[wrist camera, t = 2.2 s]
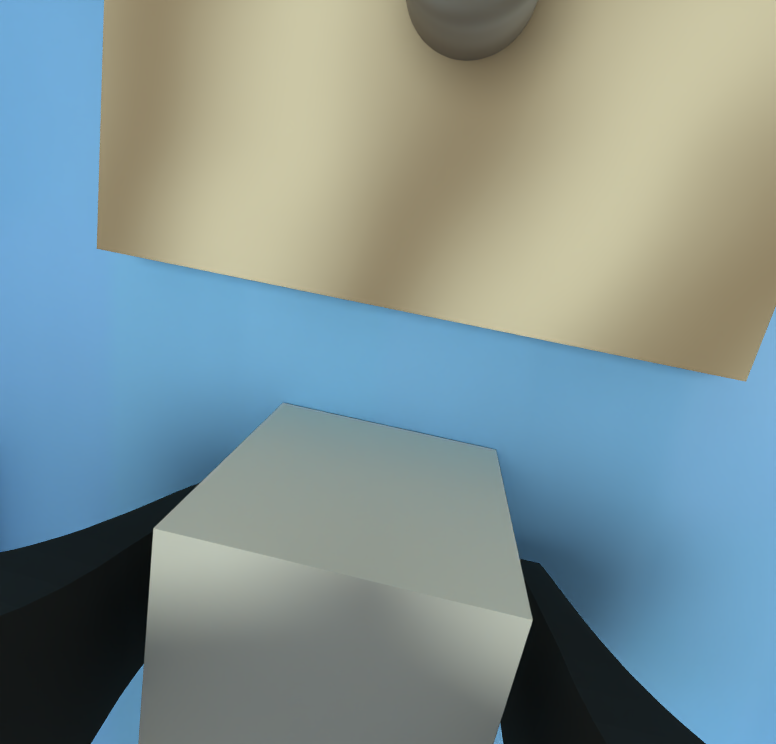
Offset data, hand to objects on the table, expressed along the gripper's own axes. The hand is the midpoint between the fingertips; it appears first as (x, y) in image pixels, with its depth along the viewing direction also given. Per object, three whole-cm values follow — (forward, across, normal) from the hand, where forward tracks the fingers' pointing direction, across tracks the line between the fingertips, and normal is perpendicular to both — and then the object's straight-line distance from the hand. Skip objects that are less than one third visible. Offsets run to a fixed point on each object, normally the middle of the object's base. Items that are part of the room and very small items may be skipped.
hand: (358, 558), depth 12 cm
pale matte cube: (+2, 0, 0) cm, 2 cm away
